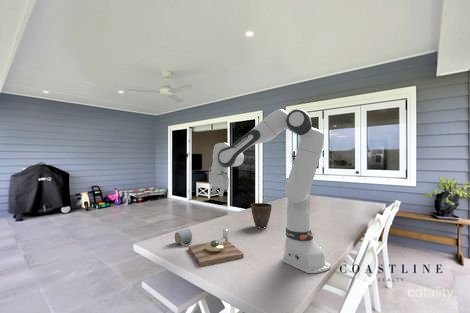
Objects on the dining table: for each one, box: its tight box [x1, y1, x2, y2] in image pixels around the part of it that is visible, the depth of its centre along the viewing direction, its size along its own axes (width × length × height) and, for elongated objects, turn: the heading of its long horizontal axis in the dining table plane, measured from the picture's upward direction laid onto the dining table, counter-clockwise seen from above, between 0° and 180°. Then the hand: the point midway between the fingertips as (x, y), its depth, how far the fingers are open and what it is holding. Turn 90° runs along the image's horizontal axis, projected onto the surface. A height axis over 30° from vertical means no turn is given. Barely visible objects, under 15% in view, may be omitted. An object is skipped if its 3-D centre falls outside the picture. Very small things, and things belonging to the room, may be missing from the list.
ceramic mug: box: [174, 228, 193, 247], centre depth 130 cm, size 11×8×8 cm
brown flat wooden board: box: [188, 240, 245, 267], centre depth 116 cm, size 22×22×2 cm
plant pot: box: [250, 202, 273, 229], centre depth 162 cm, size 15×15×16 cm
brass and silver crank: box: [205, 228, 229, 253], centre depth 119 cm, size 10×16×8 cm, turn 145°
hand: (217, 194), depth 130 cm, fingers open, 8 cm apart
